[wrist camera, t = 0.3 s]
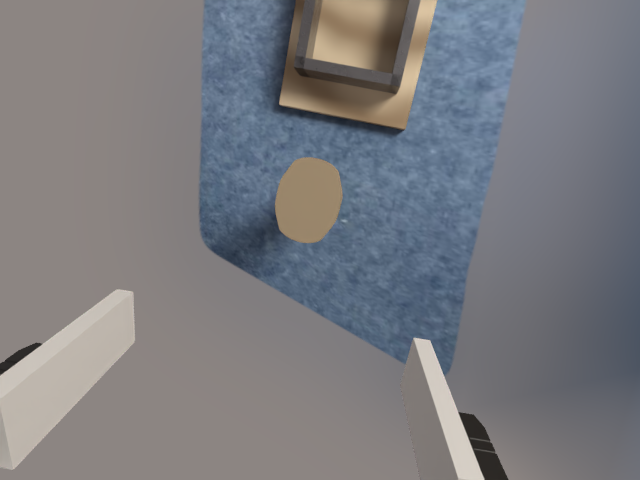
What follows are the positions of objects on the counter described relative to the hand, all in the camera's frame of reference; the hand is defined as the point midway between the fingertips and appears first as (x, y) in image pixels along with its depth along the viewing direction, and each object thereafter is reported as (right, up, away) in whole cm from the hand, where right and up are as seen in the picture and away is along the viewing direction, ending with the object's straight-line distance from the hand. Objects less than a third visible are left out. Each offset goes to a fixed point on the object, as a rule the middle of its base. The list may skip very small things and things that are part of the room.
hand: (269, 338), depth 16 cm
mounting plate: (+7, +27, +21) cm, 34 cm away
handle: (+3, +11, +25) cm, 27 cm away
